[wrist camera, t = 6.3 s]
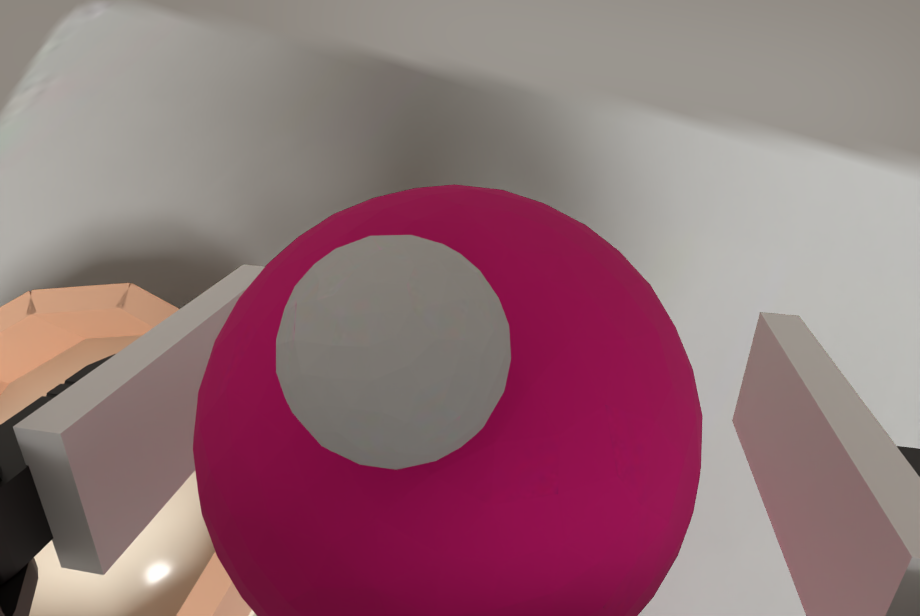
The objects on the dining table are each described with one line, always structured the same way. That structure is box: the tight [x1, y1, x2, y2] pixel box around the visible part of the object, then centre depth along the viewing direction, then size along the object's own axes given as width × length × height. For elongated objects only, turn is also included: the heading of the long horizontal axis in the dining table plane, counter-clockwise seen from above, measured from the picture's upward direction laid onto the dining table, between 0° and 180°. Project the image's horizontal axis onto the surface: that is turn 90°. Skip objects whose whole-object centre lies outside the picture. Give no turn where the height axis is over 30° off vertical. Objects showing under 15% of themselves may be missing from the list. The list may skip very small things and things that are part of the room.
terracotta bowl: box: [0, 283, 257, 616], centre depth 22 cm, size 15×15×4 cm
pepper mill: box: [193, 185, 702, 616], centre depth 13 cm, size 7×7×20 cm
